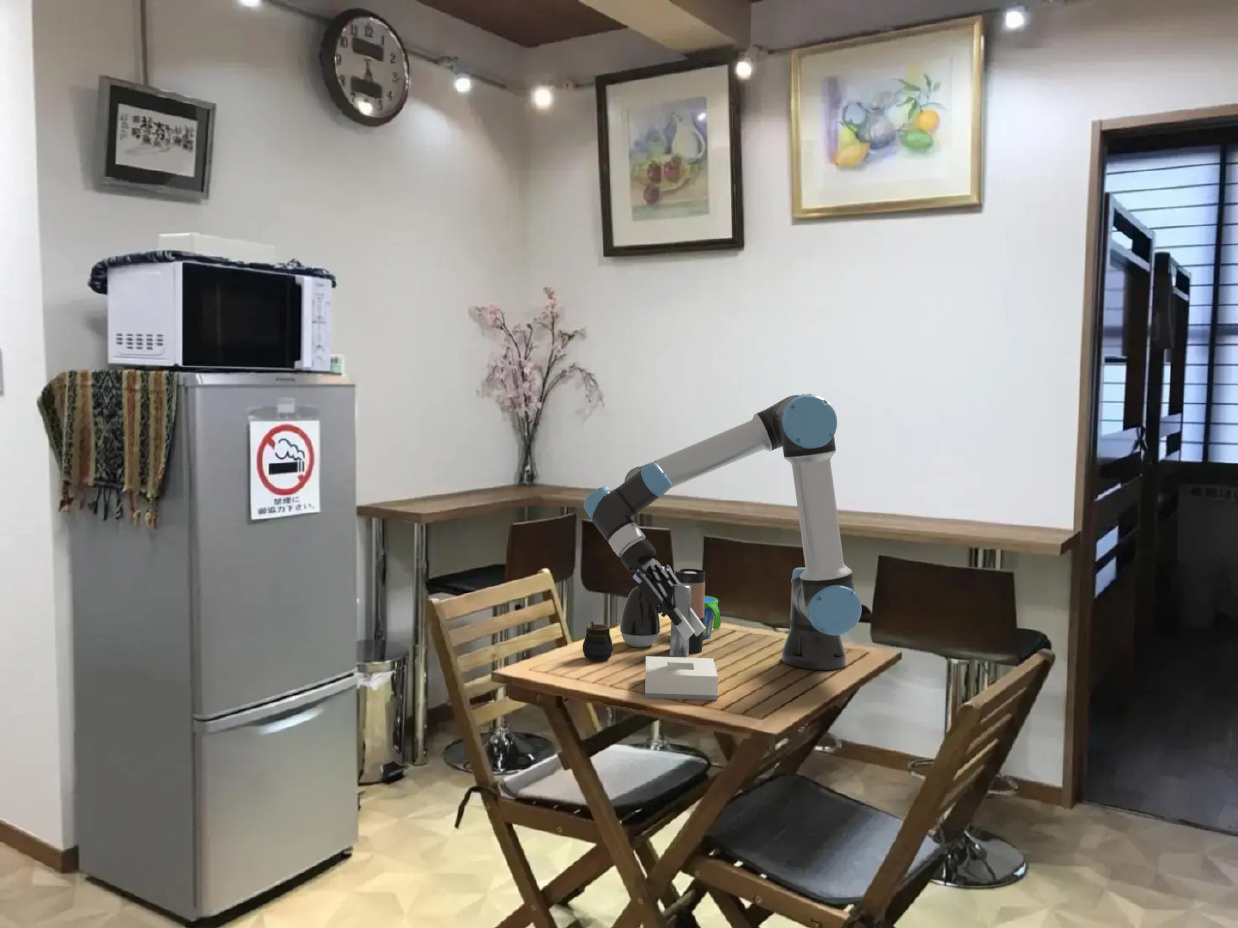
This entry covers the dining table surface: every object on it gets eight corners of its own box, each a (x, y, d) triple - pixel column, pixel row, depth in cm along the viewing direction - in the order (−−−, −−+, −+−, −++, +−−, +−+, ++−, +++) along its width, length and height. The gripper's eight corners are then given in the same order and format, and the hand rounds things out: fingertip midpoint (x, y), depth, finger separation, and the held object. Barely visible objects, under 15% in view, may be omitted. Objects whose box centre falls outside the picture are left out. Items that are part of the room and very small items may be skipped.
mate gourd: (615, 656, 242) (616, 616, 241) (608, 664, 235) (610, 622, 234) (586, 654, 244) (587, 613, 243) (579, 662, 236) (580, 620, 235)
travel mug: (706, 653, 247) (708, 573, 246) (676, 654, 246) (678, 573, 245) (698, 646, 255) (701, 568, 254) (669, 646, 253) (671, 568, 252)
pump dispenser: (654, 651, 248) (656, 590, 247) (614, 647, 251) (616, 587, 250) (664, 642, 258) (666, 584, 257) (625, 638, 261) (627, 581, 260)
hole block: (712, 680, 223) (713, 658, 222) (717, 700, 208) (717, 676, 208) (645, 678, 223) (645, 656, 223) (644, 697, 208) (645, 674, 208)
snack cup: (730, 640, 262) (732, 602, 262) (698, 644, 257) (699, 605, 256) (695, 628, 276) (696, 592, 275) (663, 632, 270) (664, 594, 269)
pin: (688, 653, 217) (690, 584, 216) (688, 657, 213) (691, 587, 212) (669, 652, 217) (672, 583, 216) (670, 656, 213) (672, 587, 212)
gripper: (643, 555, 230) (703, 637, 221) (600, 563, 215) (663, 651, 207) (663, 534, 226) (726, 617, 218) (622, 541, 212) (687, 630, 204)
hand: (695, 633), depth 213 cm, fingers closed on pin, 4 cm apart
